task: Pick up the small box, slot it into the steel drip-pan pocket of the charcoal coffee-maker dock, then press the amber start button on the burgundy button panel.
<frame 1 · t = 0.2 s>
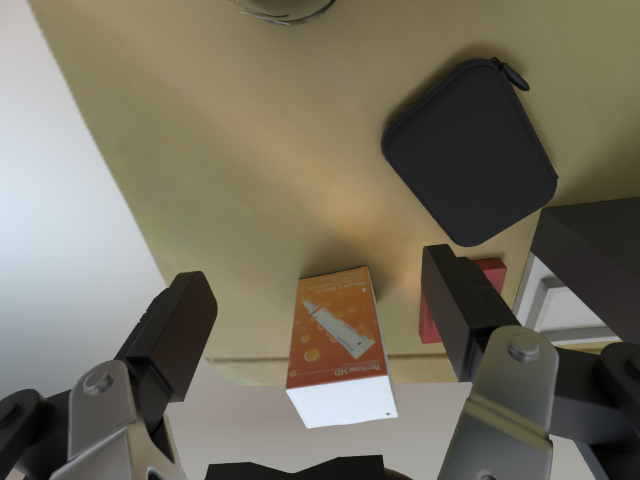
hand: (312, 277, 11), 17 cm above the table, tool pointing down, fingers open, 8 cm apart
coffee dock: (588, 273, 33), on the table
small box: (337, 290, 35), on the table
button panel: (455, 298, 35), on the table
carrying case: (468, 156, 26), on the table
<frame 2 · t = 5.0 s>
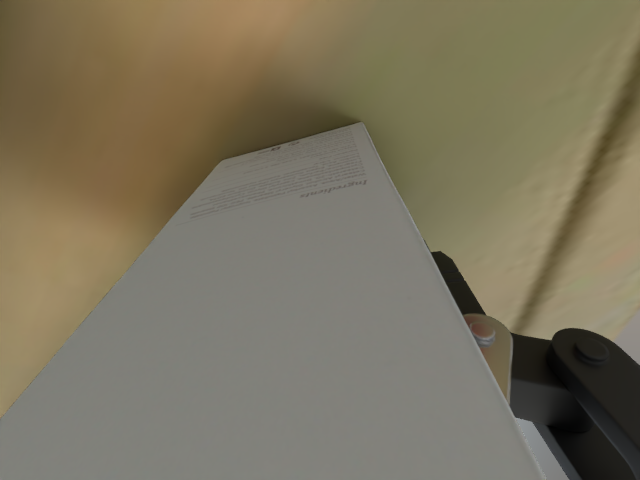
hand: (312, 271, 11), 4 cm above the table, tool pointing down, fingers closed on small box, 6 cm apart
small box: (314, 219, 15), on the table, touching gripper
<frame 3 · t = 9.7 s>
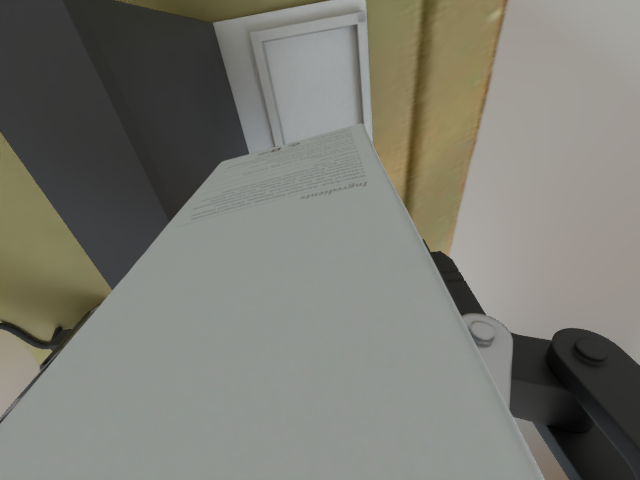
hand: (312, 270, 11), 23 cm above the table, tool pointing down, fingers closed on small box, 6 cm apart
coffee dock: (278, 102, 29), on the table
small box: (315, 220, 15), point 19 cm above the table, touching gripper
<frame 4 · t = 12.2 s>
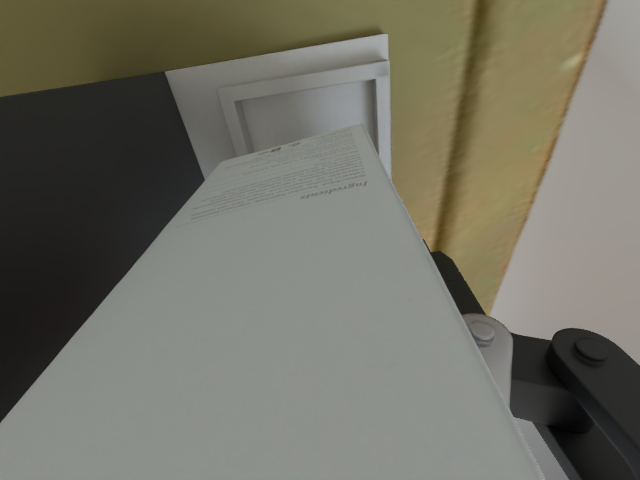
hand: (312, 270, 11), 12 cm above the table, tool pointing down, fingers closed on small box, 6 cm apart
coffee dock: (262, 170, 22), on the table
small box: (315, 219, 15), point 8 cm above the table, touching gripper
when the fingers open (5 cm above the table, at t = 14.4 s): small box stays where it is, resting on coffee dock.
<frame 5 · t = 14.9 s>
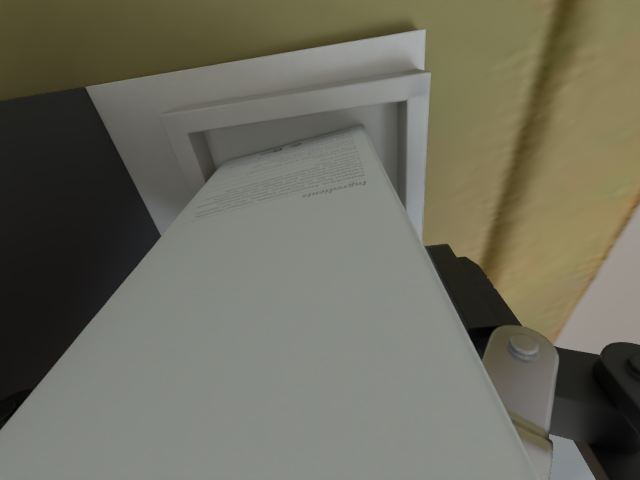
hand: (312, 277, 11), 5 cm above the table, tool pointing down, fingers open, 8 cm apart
coffee dock: (241, 219, 16), on the table
small box: (315, 219, 15), point 1 cm above the table, touching coffee dock
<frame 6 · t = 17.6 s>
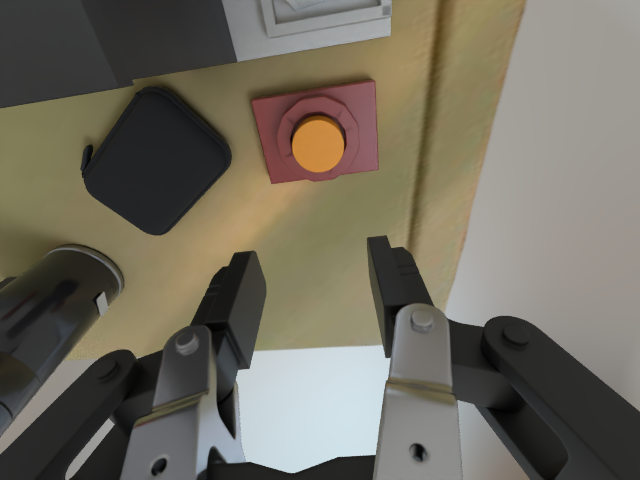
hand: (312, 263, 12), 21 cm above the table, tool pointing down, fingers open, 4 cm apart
start button: (318, 144, 26), point 4 cm above the table, slide at 0.1 cm
button panel: (318, 132, 29), on the table
carrying case: (159, 160, 31), on the table
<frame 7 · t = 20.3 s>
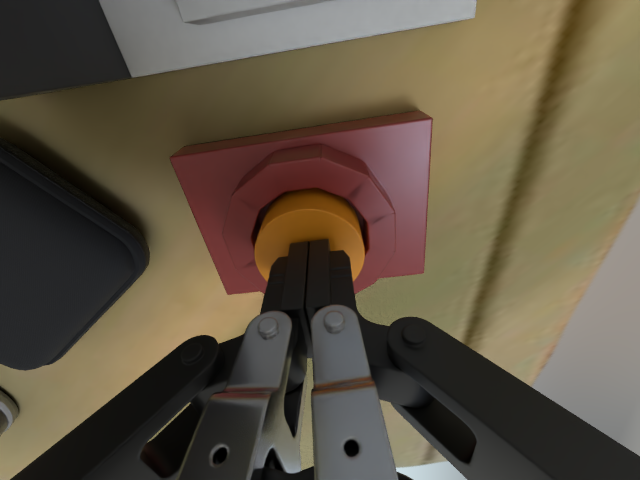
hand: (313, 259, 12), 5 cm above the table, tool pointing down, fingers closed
start button: (310, 244, 13), point 4 cm above the table, slide at -0.4 cm, touching gripper
button panel: (312, 206, 16), on the table
carrying case: (28, 250, 17), on the table
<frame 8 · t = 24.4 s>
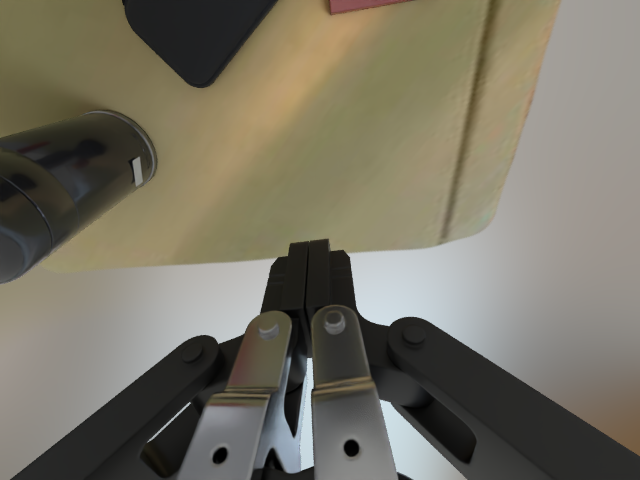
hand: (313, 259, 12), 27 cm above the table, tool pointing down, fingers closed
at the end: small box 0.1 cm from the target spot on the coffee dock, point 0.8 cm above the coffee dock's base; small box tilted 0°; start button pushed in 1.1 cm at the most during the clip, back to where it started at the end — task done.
